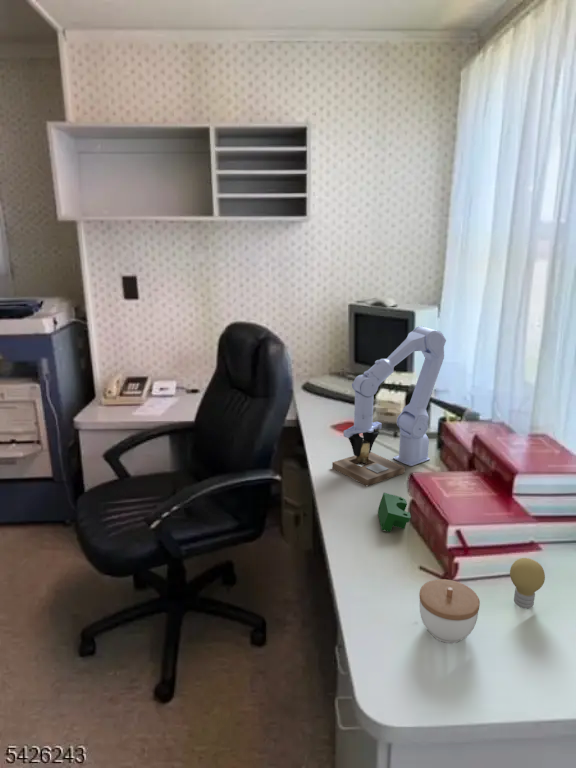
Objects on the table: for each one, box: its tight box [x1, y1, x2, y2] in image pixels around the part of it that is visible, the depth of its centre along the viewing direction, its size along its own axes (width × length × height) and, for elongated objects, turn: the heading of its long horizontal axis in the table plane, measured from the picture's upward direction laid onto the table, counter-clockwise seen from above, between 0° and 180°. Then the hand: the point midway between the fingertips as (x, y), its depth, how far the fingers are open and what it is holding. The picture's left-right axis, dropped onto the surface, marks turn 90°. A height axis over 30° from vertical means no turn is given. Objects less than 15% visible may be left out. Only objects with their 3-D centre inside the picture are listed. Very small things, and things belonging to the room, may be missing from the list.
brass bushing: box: [356, 439, 370, 463], centre depth 175 cm, size 4×4×6 cm
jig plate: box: [331, 451, 406, 487], centre depth 174 cm, size 16×16×2 cm
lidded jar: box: [419, 578, 481, 644], centre depth 102 cm, size 11×11×9 cm
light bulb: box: [509, 557, 546, 610], centre depth 110 cm, size 6×6×10 cm
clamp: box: [377, 492, 412, 533], centre depth 142 cm, size 12×6×9 cm, turn 170°
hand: (361, 454), depth 175 cm, fingers closed on brass bushing, 4 cm apart
